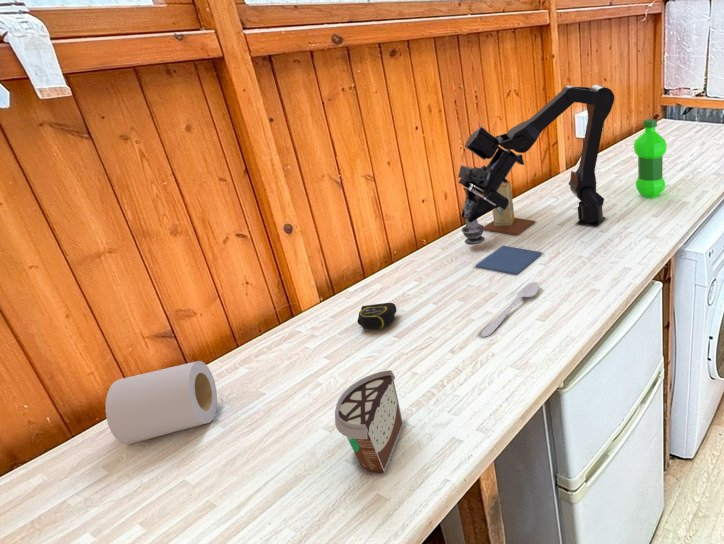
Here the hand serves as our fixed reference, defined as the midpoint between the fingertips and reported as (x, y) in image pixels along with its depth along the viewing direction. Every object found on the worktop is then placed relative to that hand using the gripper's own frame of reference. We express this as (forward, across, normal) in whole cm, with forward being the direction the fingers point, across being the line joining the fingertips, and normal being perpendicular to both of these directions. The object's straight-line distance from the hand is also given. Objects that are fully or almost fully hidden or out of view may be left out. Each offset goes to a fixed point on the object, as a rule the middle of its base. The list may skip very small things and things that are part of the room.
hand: (465, 219), depth 136 cm
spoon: (+11, +35, +2) cm, 36 cm away
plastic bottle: (-38, +2, +52) cm, 64 cm away
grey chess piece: (+4, 0, +6) cm, 7 cm away
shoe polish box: (-5, -10, +17) cm, 20 cm away
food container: (+35, +55, -23) cm, 69 cm away
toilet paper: (+51, +29, -39) cm, 71 cm away
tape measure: (+28, +20, -15) cm, 37 cm away
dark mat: (-4, -8, +17) cm, 19 cm away
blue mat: (+3, +13, +10) cm, 16 cm away
